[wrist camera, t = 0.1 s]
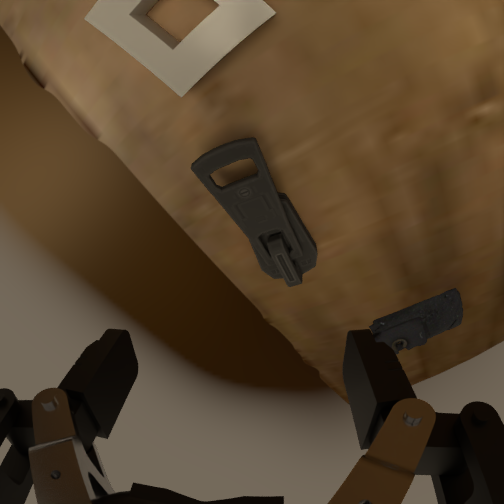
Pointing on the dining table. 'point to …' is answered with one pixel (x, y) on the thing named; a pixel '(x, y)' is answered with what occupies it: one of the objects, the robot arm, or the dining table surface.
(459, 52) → the dining table surface
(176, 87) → the well block
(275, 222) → the zipper pull
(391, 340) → the dark slate chunk
